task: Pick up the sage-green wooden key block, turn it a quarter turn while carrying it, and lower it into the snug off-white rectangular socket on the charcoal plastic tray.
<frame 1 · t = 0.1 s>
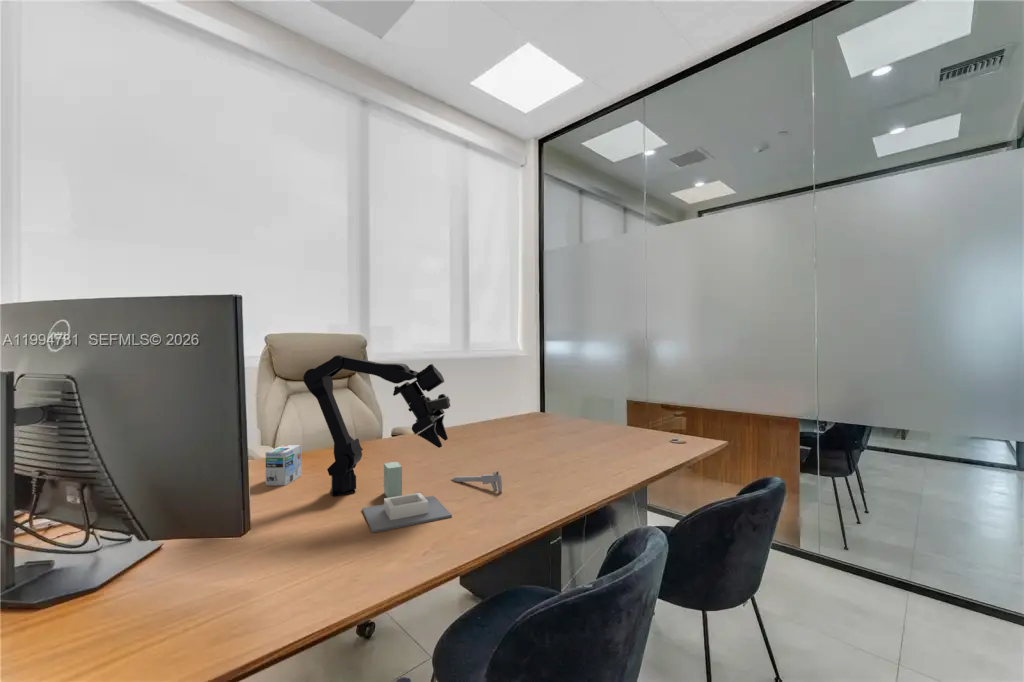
hand: (443, 443, 132), 15 cm above the table, tool tilted 30°, fingers open, 9 cm apart
caliper: (475, 487, 138), on the table
socket tray: (406, 513, 116), on the table
light bulb box: (284, 481, 144), on the table
key block: (393, 495, 130), on the table
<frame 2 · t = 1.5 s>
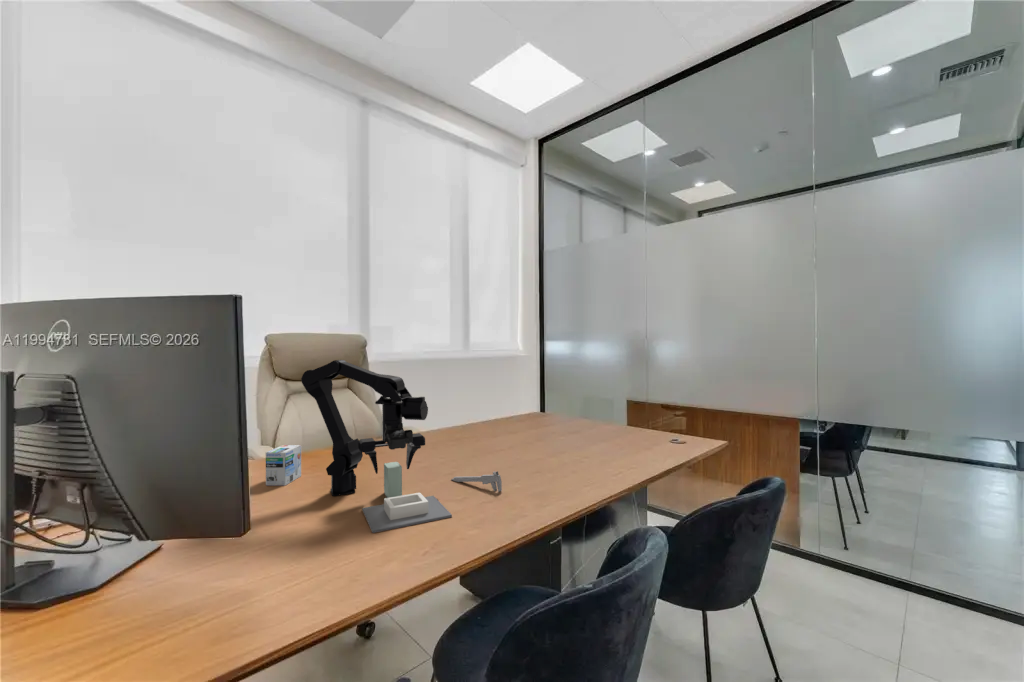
hand: (392, 471, 130), 7 cm above the table, tool pointing down, fingers open, 9 cm apart
nothing on the table moved.
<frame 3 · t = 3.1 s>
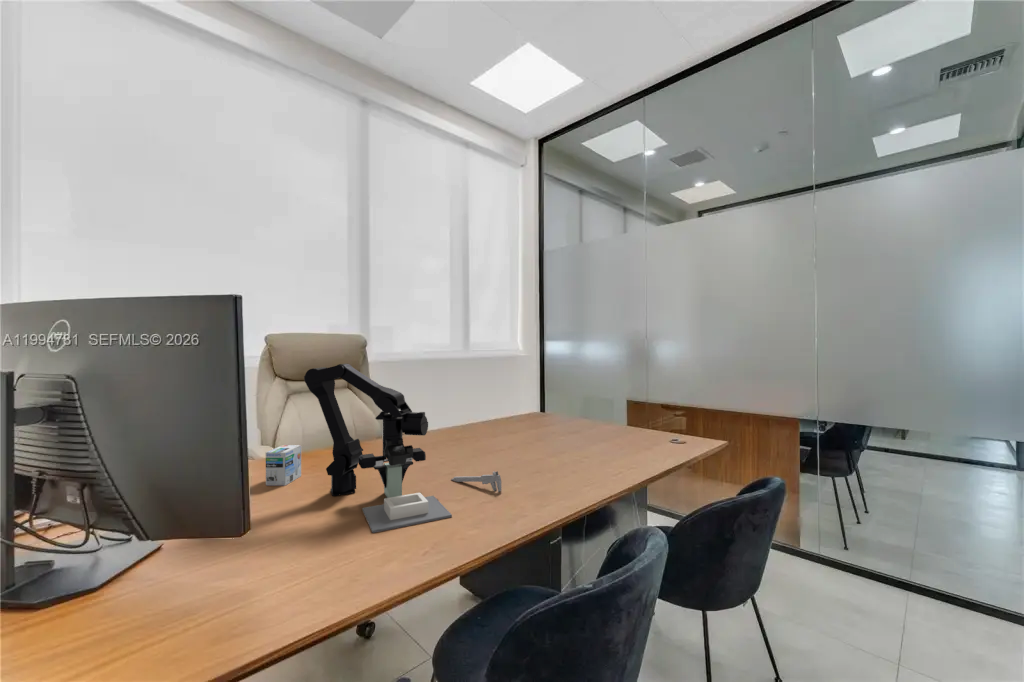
hand: (392, 486, 130), 3 cm above the table, tool pointing down, fingers closed on key block, 4 cm apart
key block: (392, 494, 130), on the table, touching gripper
everything else where it was.
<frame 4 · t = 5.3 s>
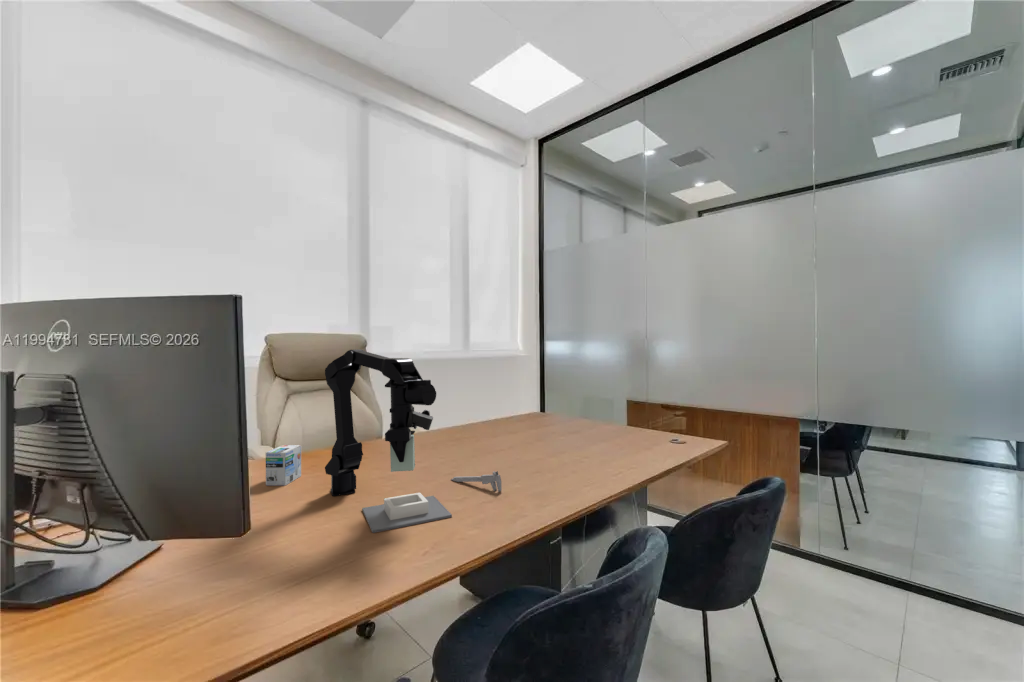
hand: (402, 460, 121), 13 cm above the table, tool pointing down, fingers closed on key block, 4 cm apart
key block: (403, 469, 121), point 10 cm above the table, touching gripper
everything else where it was.
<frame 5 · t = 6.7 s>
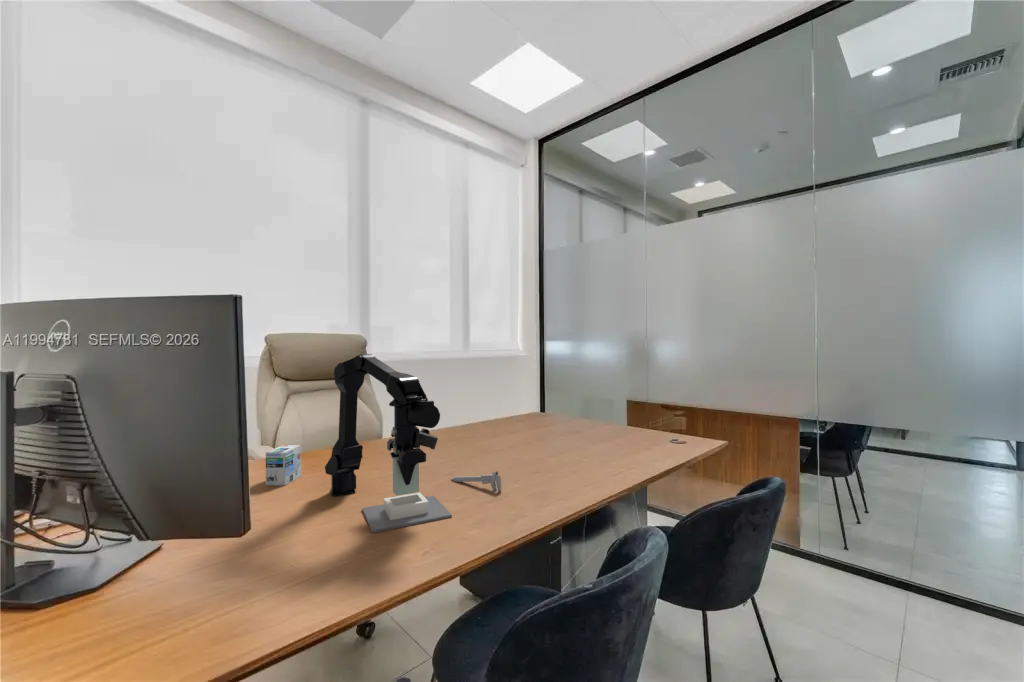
hand: (405, 482, 116), 8 cm above the table, tool pointing down, fingers closed on key block, 4 cm apart
key block: (405, 491, 116), point 6 cm above the table, touching gripper
everything else where it was.
when the fingers open (5 cm above the table, at t = 7.9 s): key block drops 1 cm, resting on socket tray.
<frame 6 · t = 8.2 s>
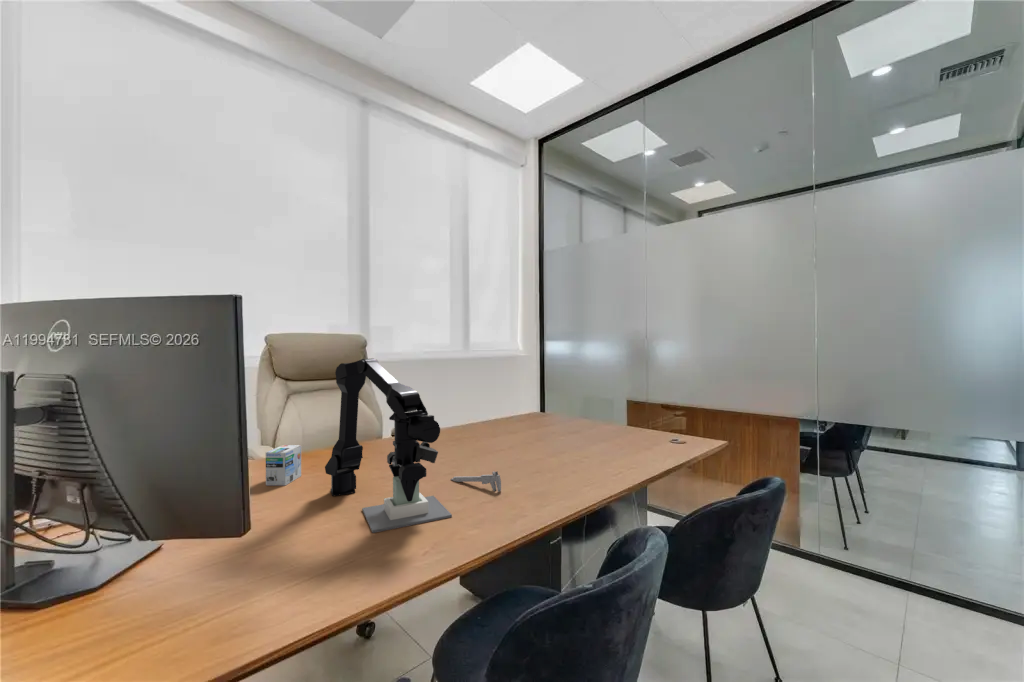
hand: (405, 496, 116), 5 cm above the table, tool pointing down, fingers open, 8 cm apart
key block: (406, 511, 116), point 1 cm above the table, touching socket tray
everything else where it was.
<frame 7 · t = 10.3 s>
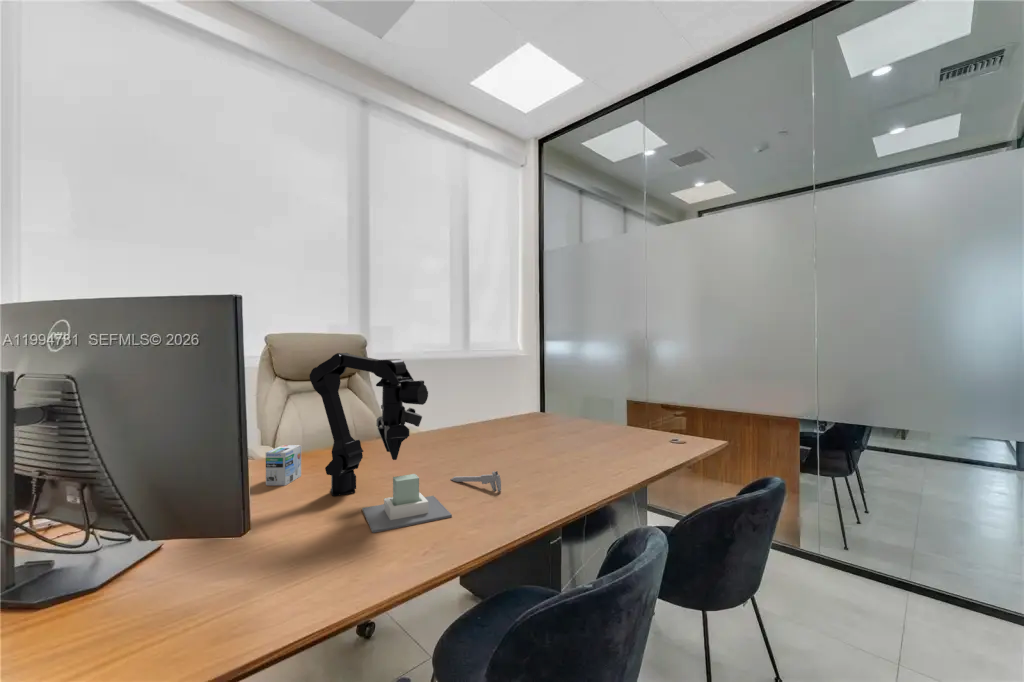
hand: (391, 455, 127), 13 cm above the table, tool pointing down, fingers open, 9 cm apart
nothing on the table moved.
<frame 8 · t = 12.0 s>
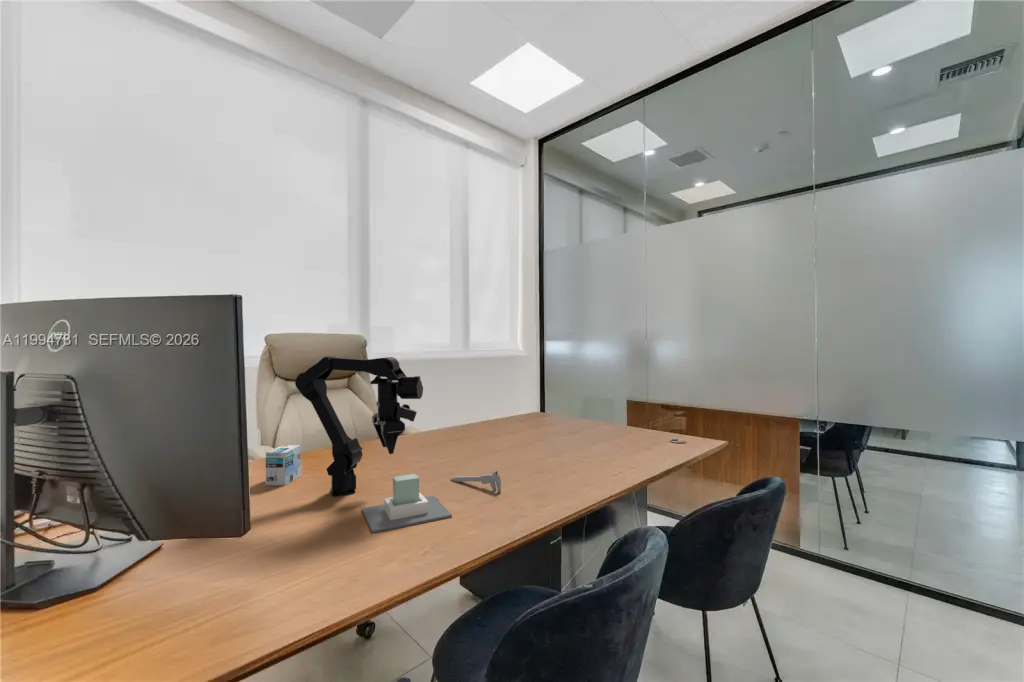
hand: (388, 450, 131), 13 cm above the table, tool pointing down, fingers open, 9 cm apart
nothing on the table moved.
at the end: key block 0.1 cm off-centre on the socket tray, point 0.6 cm above the socket tray's base; key block tilted 0°; the gripper is holding nothing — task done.
